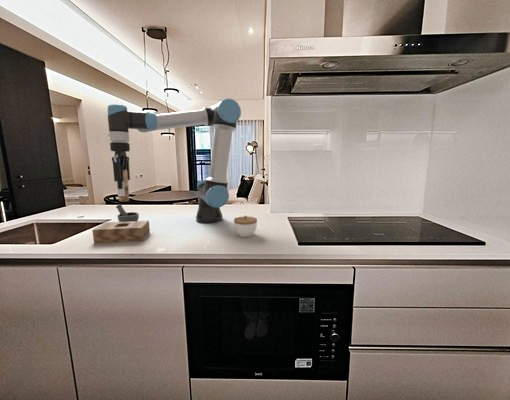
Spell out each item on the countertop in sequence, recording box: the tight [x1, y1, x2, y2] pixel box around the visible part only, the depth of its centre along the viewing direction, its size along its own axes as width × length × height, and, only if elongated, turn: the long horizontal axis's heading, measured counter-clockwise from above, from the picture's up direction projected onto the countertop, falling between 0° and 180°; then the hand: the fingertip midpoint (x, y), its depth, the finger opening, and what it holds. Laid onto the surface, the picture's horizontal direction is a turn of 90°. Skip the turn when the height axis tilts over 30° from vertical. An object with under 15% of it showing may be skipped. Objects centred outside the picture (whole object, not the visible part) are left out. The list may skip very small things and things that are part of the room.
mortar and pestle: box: [115, 203, 140, 222], centre depth 133 cm, size 11×9×12 cm
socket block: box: [91, 220, 151, 244], centre depth 116 cm, size 20×12×6 cm, turn 98°
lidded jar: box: [233, 215, 258, 238], centre depth 118 cm, size 11×11×9 cm
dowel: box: [118, 170, 130, 202], centre depth 114 cm, size 4×4×14 cm
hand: (123, 195), depth 115 cm, fingers closed on dowel, 4 cm apart
